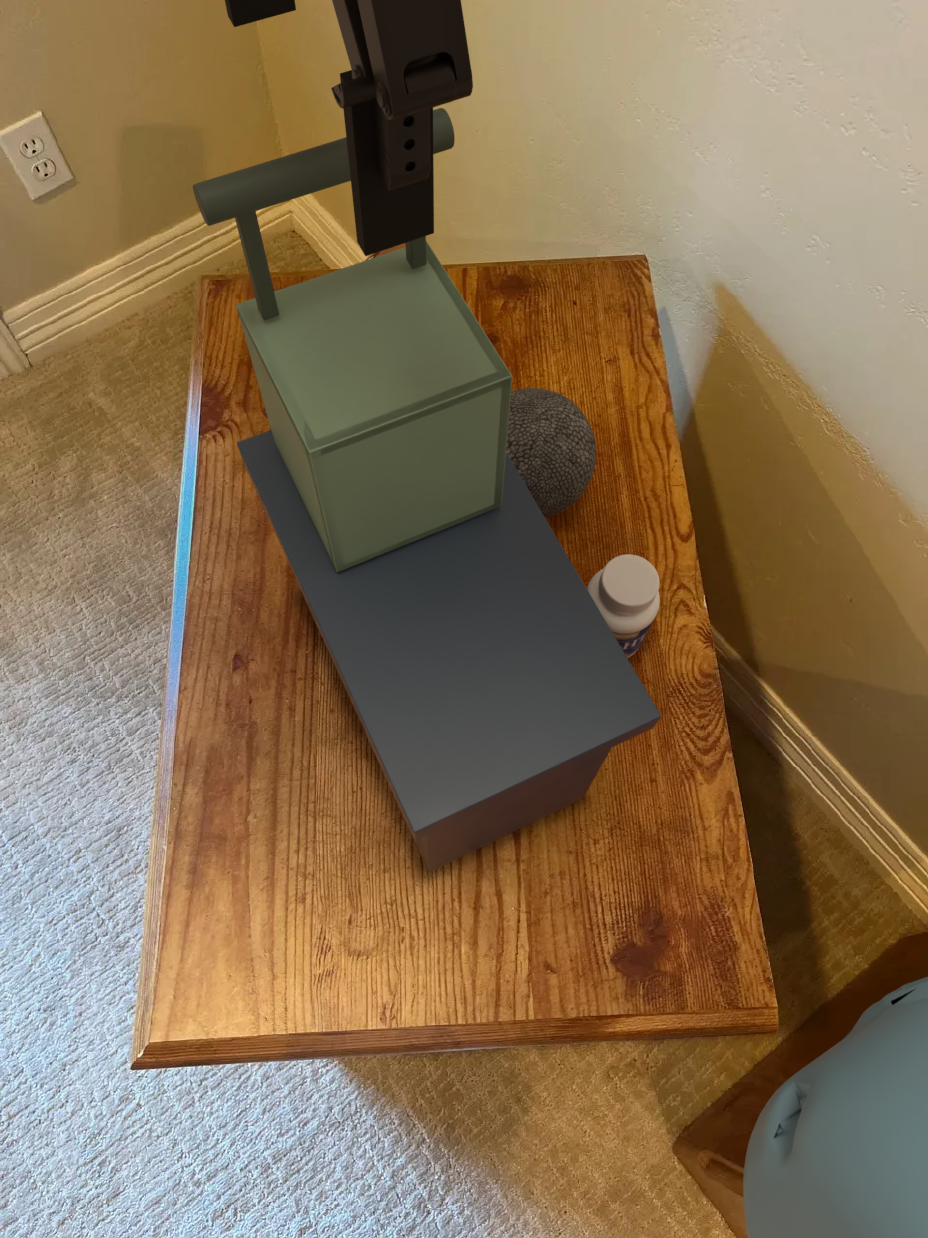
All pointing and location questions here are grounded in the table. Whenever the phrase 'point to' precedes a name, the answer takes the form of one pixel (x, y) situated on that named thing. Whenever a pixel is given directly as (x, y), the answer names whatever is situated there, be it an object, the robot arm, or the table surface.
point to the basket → (369, 373)
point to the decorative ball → (550, 447)
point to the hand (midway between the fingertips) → (324, 118)
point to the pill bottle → (627, 598)
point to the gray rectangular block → (466, 663)
